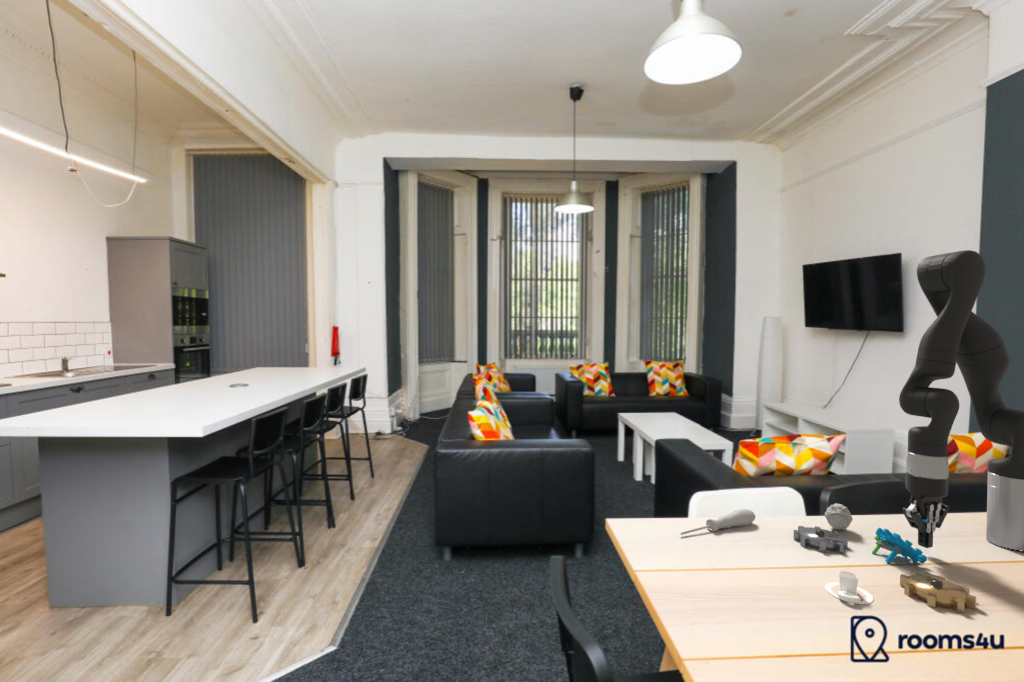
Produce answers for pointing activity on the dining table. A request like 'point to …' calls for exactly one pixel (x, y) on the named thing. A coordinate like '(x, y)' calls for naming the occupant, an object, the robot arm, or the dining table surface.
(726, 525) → the screwdriver
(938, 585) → the gear
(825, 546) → the gear
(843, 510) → the grey rounded lump
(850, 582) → the teacup and saucer
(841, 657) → the dining table surface
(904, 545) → the gear
